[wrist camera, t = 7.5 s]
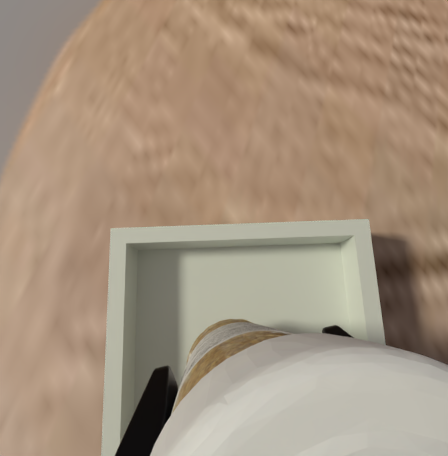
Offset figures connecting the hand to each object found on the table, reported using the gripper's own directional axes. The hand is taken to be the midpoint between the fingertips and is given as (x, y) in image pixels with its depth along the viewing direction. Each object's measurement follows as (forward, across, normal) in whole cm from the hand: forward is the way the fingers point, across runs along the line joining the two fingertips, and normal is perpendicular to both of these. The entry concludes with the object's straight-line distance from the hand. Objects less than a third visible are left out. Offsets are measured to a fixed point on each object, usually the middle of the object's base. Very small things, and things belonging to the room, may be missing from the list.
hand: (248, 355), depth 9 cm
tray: (+6, 0, +8) cm, 10 cm away
